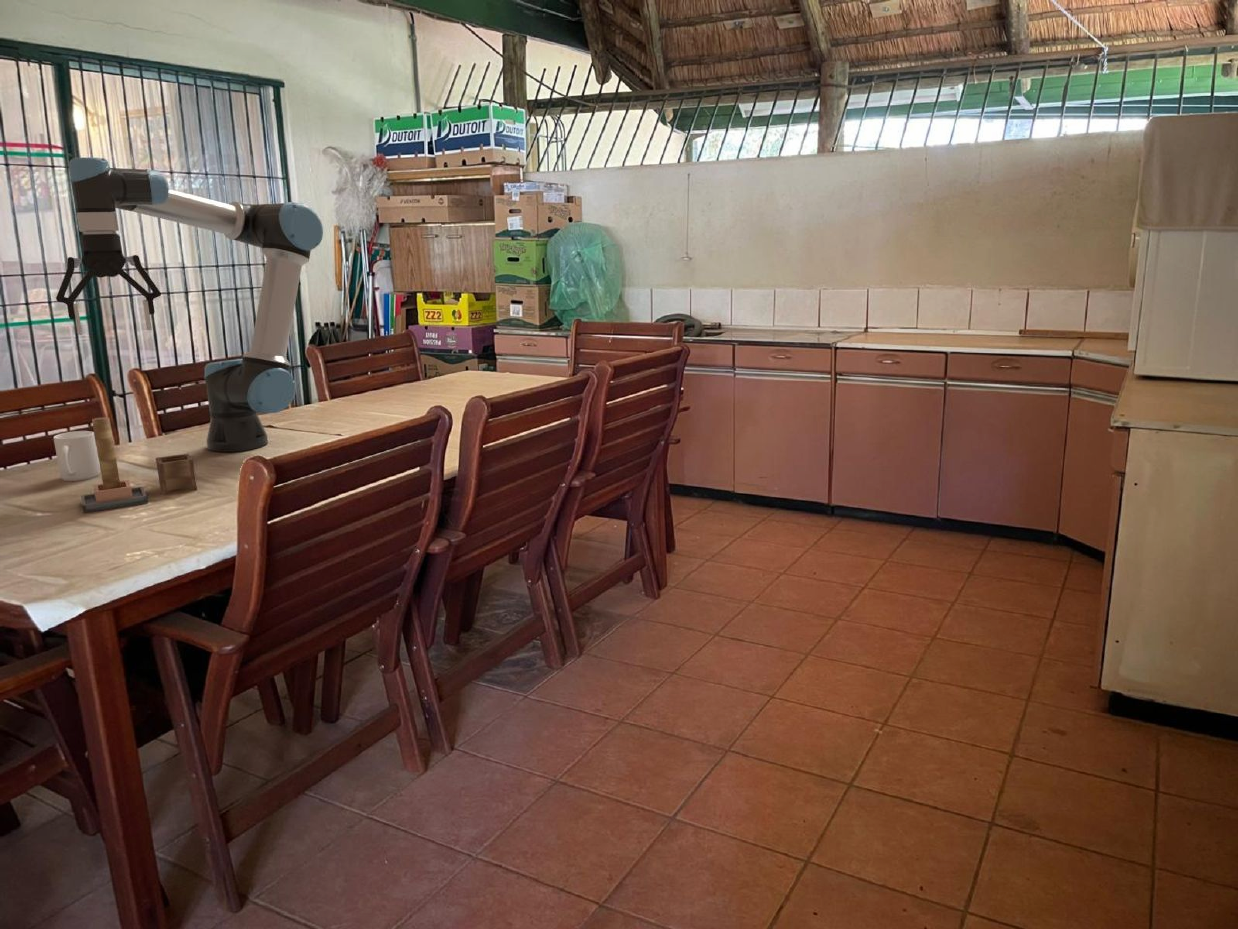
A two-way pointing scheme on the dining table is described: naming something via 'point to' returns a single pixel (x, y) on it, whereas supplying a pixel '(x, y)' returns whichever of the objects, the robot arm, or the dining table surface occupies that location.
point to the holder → (112, 492)
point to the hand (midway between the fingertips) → (115, 332)
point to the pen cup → (176, 473)
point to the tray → (92, 506)
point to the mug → (77, 455)
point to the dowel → (106, 453)
